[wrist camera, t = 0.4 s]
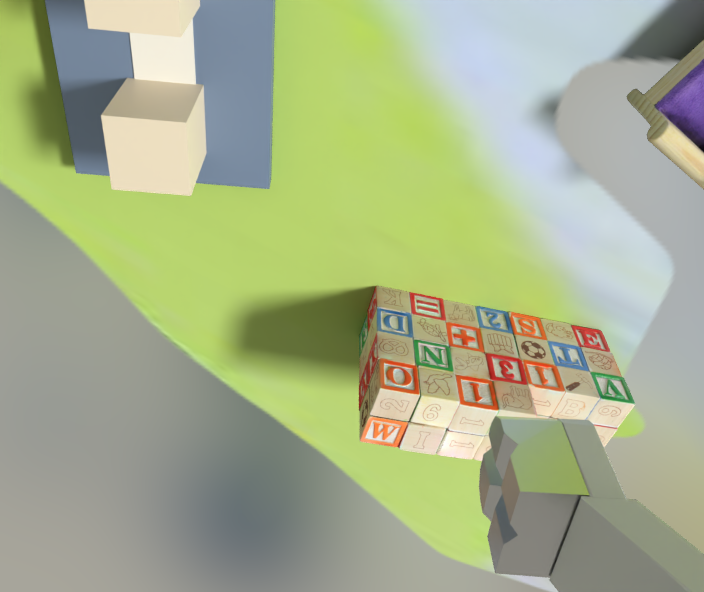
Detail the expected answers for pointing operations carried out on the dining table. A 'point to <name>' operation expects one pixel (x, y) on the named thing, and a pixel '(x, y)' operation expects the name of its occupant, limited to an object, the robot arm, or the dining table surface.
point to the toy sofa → (678, 114)
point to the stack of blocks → (476, 374)
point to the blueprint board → (217, 67)
